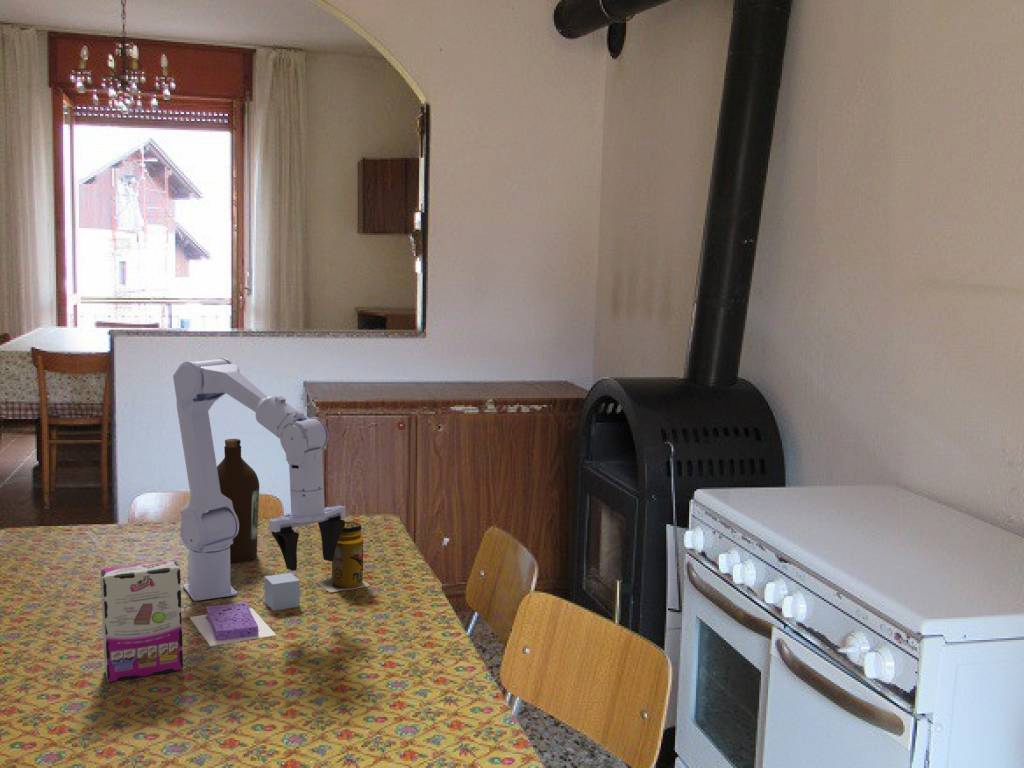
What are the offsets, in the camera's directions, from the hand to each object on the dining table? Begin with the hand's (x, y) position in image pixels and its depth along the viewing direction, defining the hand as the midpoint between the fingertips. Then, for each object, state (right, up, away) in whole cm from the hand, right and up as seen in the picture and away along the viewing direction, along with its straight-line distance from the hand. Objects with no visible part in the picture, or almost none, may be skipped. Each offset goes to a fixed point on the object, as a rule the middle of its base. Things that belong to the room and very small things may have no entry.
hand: (310, 564), depth 182 cm
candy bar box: (-21, -13, -23) cm, 33 cm away
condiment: (+2, -8, +20) cm, 22 cm away
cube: (-7, -9, +8) cm, 14 cm away
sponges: (-13, -10, -3) cm, 17 cm away
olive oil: (-23, -5, +37) cm, 44 cm away
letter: (-13, -10, -3) cm, 17 cm away
